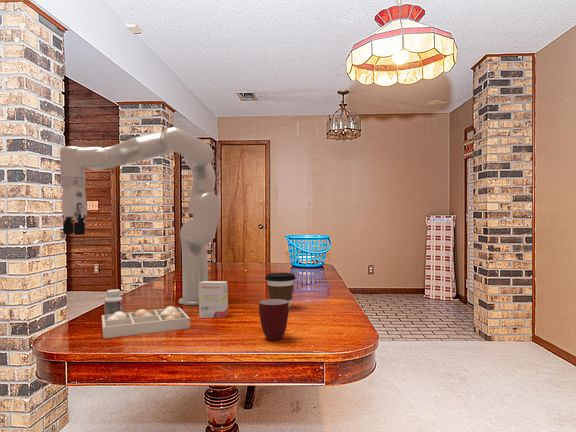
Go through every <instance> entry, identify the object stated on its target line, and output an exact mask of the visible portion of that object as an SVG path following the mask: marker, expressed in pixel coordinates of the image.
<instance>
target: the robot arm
mask: <svg viewBox="0 0 576 432" xmlns="http://www.w3.org/2000/svg"><path fill="white" fill-rule="evenodd" d="M173 153H178V154H179V155H181V156H182V157H183V159H184V160H183V161H184V162H185V164H186V165H187V166H188V167H189V169H190V170H191V172H192V175H193V176H192V185H191V191H190V195H189V200H188V204H187V205H188V207H187V208H188V211H189V212H190V214H192V219H190V220H188V221H187V220H186V222H185V223H183V225H181V228H180V233H179V239H180V243H181V244H180V246H181V266H182V267H181V269H182V273H181V274H182V276H181V278H182V280H181V281H182V297H181V298H179V299H178V303H179V304H180V305H184V306H197V305H198V306H199V283H200V282H203V281H208V280H209V278H208V273H209V272H208V271H209V270H208V267H209V266H208V248H207V247H208V245H209V244H211V243H212V241H213V240H214V238H215V235H216V232H217V227H218V222H219V217H220V211H221V201H220V198H219V197H218V196H217V194H215V193H214V192H215V187H216V186H215V185H216V172H215V168H214V167H213V164H212V161H213V160H214V157H215V156H214V155H215V154H214V150H213V149H212V147H211V146H210V145H209V144H208V143H207V142H205V141H204V140H202V139H200V138H198V137H196V136H194V135H193V134H191V133H190V132H187V131H186V130H184V129H182V128H179V127H176V126H171V127H169V128H167V129H165V130H161V131H159V132H154V133H153V132H152V133H149V134H145V135H139V136H134V137H131V138H130V139H127V140H125V141H122V142H120V143H118V144H114V145H111V146H110V145H109V146H106V147H102V146H86V147H85V146H84V147H81V146H77V145H75V146H74V145H72V146H70V145H67V146H62V147H61V148H60V152H59V157H60V163H59V164H60V188H61V189H62V197H61V198H62V199H61V212H62V216H61V217H62V230H63V231H62V232H63V233H62V234H64V235H73V234H74V236H83V235H85V234H86V228H85V227H86V225H85V223H86V217H87V216H88V203H87V195H86V168H87V169H89V170H90V171H93V172H96V171H97V172H99V171H104V170H107V169H111V168H114V167H119V166H120V167H121V166H123V165H126V164H127V165H128V164H133V163H134V164H135V163H138V162H141V161H144V160H145V161H146V160H150V159H153V158H157V157H161V156H165V155H171V154H173ZM73 220H74V222H73Z"/></svg>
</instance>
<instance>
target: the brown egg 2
mask: <svg viewBox="0 0 576 432" xmlns="http://www.w3.org/2000/svg"><path fill="white" fill-rule="evenodd" d="M180 318H182V316H181V314H180V313H179V312H177V311H172V312H170V313H169V314H168V316H167V317H166V318H165V319H164V320H171V319H180Z"/></svg>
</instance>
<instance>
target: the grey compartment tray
mask: <svg viewBox="0 0 576 432" xmlns="http://www.w3.org/2000/svg"><path fill="white" fill-rule="evenodd" d="M175 308H176V309H177V312H179V313H180V314H181V316H182V318H180V319H171V320H164V319H165V318H166V317H167V316H168V314H163V315H160V314H161V312H163V311H164V310H165V308H162V309H151V310H147V311H148V312H150V313H152V314H153V316H143V317H134V315H135V313H136V311H132V312H131V311H130V312H124V313H125V314H126V316H127V318H124V319H114V320H107V319H108V317H110V316H112V315H113V314H109V315H105V314H102V315H101V328H102V329H101V330H102V338H103V339H104V340H105V339H113V338H119V337H127V336H128V337H129V336H138V335H146V334H155V333H162V332H163V333H164V332H171V331H179V330H185V329H186V330H187V329H191V324H190V323H191V322H190V320H191V318H190V317H189V315H188V314H187V313H186V312H185V311H184V310H183V309H182V308H181V307H175Z"/></svg>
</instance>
